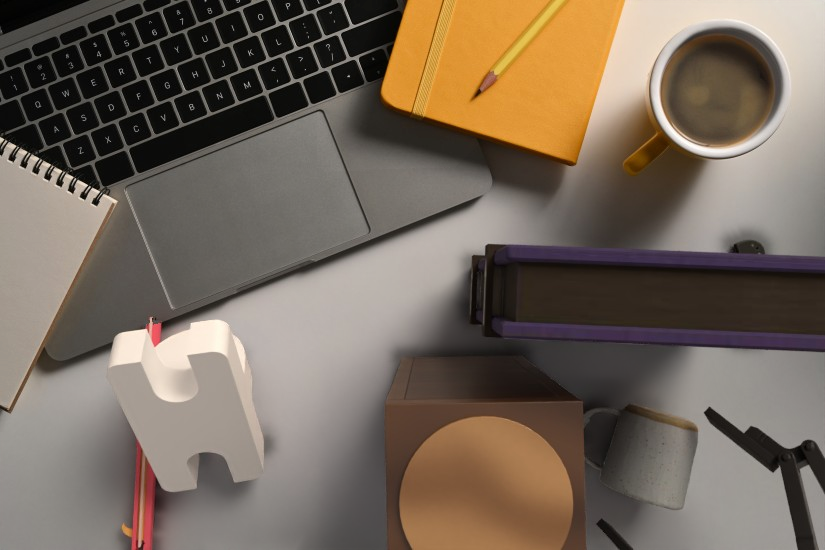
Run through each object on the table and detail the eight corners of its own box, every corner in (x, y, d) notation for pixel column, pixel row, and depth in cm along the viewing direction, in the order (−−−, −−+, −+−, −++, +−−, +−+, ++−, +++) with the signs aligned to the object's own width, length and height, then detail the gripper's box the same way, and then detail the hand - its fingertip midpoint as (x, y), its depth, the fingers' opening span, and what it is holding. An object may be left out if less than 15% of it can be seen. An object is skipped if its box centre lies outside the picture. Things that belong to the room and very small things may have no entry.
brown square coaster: (582, 590, 43) (589, 604, 41) (389, 592, 43) (387, 605, 41) (577, 396, 43) (584, 401, 41) (385, 399, 44) (383, 404, 42)
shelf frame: (524, 476, 69) (582, 590, 43) (404, 477, 69) (389, 592, 43) (521, 355, 69) (577, 396, 43) (402, 357, 70) (385, 399, 44)
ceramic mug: (686, 415, 69) (717, 430, 61) (665, 495, 69) (694, 520, 61) (582, 386, 69) (600, 398, 61) (561, 466, 69) (576, 488, 61)
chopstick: (168, 562, 68) (117, 563, 67) (171, 553, 70) (122, 555, 69) (180, 318, 69) (130, 316, 68) (183, 317, 71) (135, 315, 70)
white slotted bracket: (265, 477, 67) (266, 392, 75) (225, 349, 55) (230, 264, 63) (164, 493, 66) (176, 405, 74) (101, 367, 54) (123, 278, 63)
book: (705, 267, 69) (918, 252, 39) (703, 331, 69) (915, 364, 39) (468, 258, 70) (498, 235, 40) (466, 320, 69) (494, 346, 39)
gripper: (773, 819, 49) (574, 578, 64) (1020, 566, 49) (762, 386, 64) (752, 823, 44) (542, 561, 59) (1029, 540, 44) (746, 351, 59)
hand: (656, 469), depth 62 cm, fingers open, 13 cm apart
